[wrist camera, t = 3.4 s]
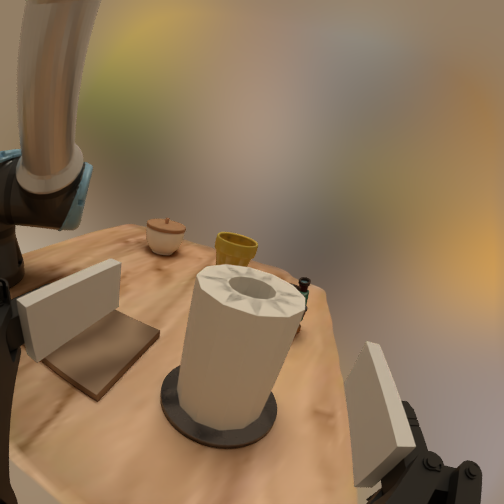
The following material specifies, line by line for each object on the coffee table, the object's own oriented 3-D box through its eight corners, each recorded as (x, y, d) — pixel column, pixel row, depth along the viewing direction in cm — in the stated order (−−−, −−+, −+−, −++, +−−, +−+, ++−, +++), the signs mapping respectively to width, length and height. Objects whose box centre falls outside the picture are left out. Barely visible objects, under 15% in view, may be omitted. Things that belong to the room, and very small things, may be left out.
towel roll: (164, 408, 25) (179, 288, 21) (195, 360, 34) (217, 257, 30) (252, 440, 24) (304, 330, 20) (266, 384, 33) (305, 284, 29)
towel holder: (139, 417, 23) (141, 322, 20) (186, 352, 37) (202, 271, 33) (265, 463, 22) (314, 382, 18) (280, 384, 35) (313, 306, 32)
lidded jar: (154, 241, 79) (159, 211, 76) (186, 252, 78) (193, 220, 75) (135, 250, 68) (140, 215, 66) (170, 262, 67) (177, 226, 65)
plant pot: (256, 284, 69) (266, 247, 66) (219, 284, 63) (229, 244, 60) (236, 267, 77) (244, 233, 74) (202, 266, 71) (210, 230, 68)
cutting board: (15, 337, 25) (14, 331, 25) (82, 298, 40) (82, 292, 40) (97, 401, 23) (96, 394, 23) (159, 336, 38) (159, 330, 38)
